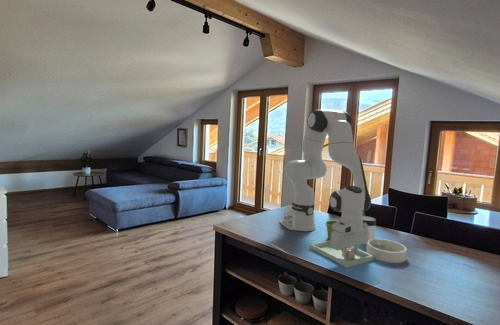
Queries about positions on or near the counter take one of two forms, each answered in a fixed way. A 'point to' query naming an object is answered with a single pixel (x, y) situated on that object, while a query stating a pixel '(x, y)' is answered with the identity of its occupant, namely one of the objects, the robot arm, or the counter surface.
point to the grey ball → (379, 245)
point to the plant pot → (330, 228)
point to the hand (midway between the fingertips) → (349, 255)
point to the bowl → (387, 251)
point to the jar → (370, 226)
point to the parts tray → (340, 254)
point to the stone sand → (350, 254)
